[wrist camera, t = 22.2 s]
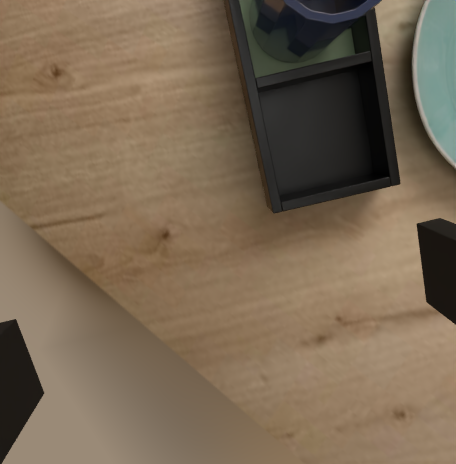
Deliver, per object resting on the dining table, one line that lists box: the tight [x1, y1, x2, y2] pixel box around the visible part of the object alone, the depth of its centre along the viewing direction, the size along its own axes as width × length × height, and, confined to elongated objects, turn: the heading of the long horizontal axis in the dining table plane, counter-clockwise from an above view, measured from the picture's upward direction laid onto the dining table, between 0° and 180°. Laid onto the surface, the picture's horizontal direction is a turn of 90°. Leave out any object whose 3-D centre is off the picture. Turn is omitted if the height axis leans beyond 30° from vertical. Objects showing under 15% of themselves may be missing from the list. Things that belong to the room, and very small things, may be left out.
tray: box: [223, 0, 400, 213], centre depth 35 cm, size 11×20×4 cm, turn 13°
